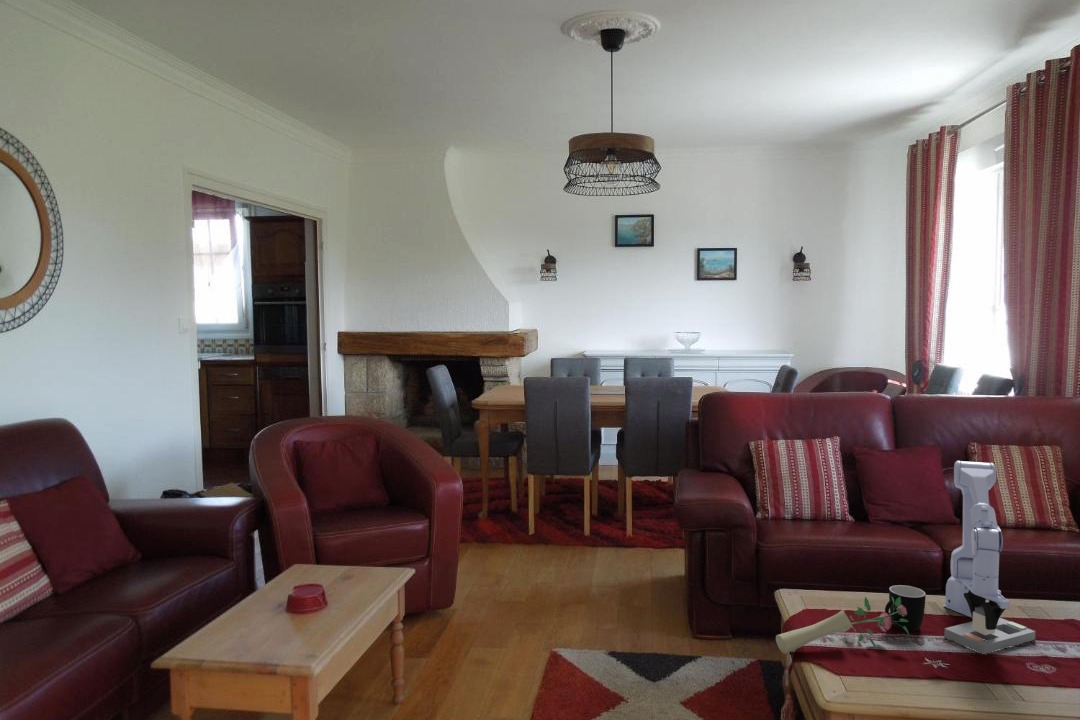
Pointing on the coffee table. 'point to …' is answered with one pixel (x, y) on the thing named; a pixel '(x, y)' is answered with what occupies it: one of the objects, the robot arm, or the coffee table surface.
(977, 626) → the plug
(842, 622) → the flower vase
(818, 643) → the coffee table surface
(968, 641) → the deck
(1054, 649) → the coffee table surface
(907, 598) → the mug
